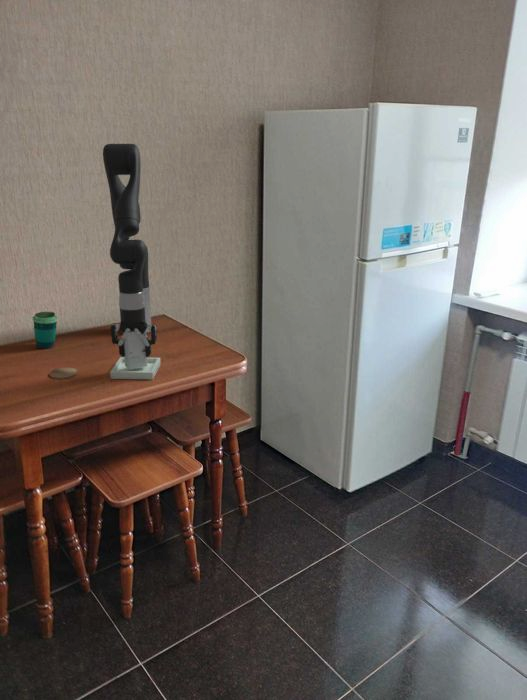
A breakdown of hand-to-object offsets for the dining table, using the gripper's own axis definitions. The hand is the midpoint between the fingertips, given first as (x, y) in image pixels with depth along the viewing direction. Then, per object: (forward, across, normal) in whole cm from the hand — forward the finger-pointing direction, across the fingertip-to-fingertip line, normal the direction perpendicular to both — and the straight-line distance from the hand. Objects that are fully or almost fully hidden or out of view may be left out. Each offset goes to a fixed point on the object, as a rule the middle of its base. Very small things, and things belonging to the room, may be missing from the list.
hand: (135, 356), depth 179 cm
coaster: (+5, +22, +4) cm, 23 cm away
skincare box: (+4, 0, 0) cm, 4 cm away
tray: (+5, 0, 0) cm, 5 cm away
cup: (+5, +36, -21) cm, 42 cm away
